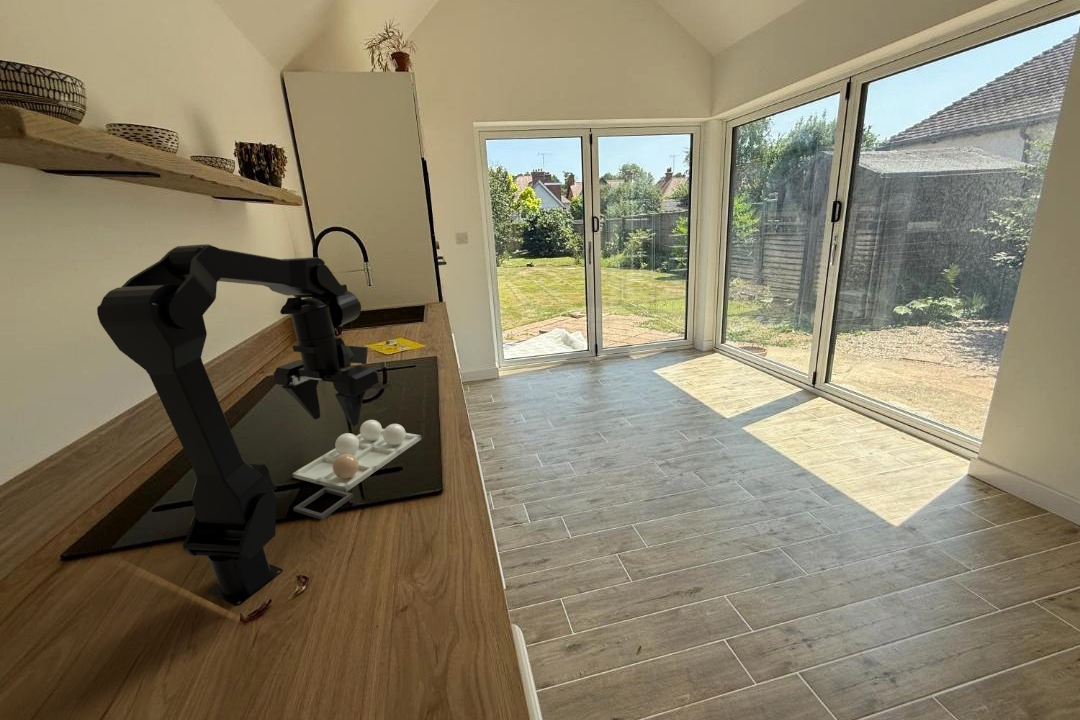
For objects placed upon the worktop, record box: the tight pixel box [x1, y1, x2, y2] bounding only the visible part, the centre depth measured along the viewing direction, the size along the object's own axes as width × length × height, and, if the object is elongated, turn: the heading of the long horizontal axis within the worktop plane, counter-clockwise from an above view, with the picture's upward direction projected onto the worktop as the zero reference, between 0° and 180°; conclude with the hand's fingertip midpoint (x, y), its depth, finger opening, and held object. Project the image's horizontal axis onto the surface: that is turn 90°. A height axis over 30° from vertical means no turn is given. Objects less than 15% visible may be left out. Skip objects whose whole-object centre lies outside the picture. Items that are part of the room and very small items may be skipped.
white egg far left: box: [383, 423, 407, 446], centre depth 94 cm, size 4×4×4 cm
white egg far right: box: [359, 419, 383, 441], centre depth 97 cm, size 4×4×4 cm
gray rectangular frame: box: [293, 486, 354, 521], centre depth 76 cm, size 6×6×1 cm
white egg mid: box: [334, 432, 359, 455], centre depth 91 cm, size 4×4×4 cm
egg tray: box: [291, 428, 422, 492], centre depth 91 cm, size 14×20×2 cm
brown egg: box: [332, 454, 359, 479], centre depth 83 cm, size 4×4×4 cm
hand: (335, 421), depth 81 cm, fingers open, 9 cm apart
